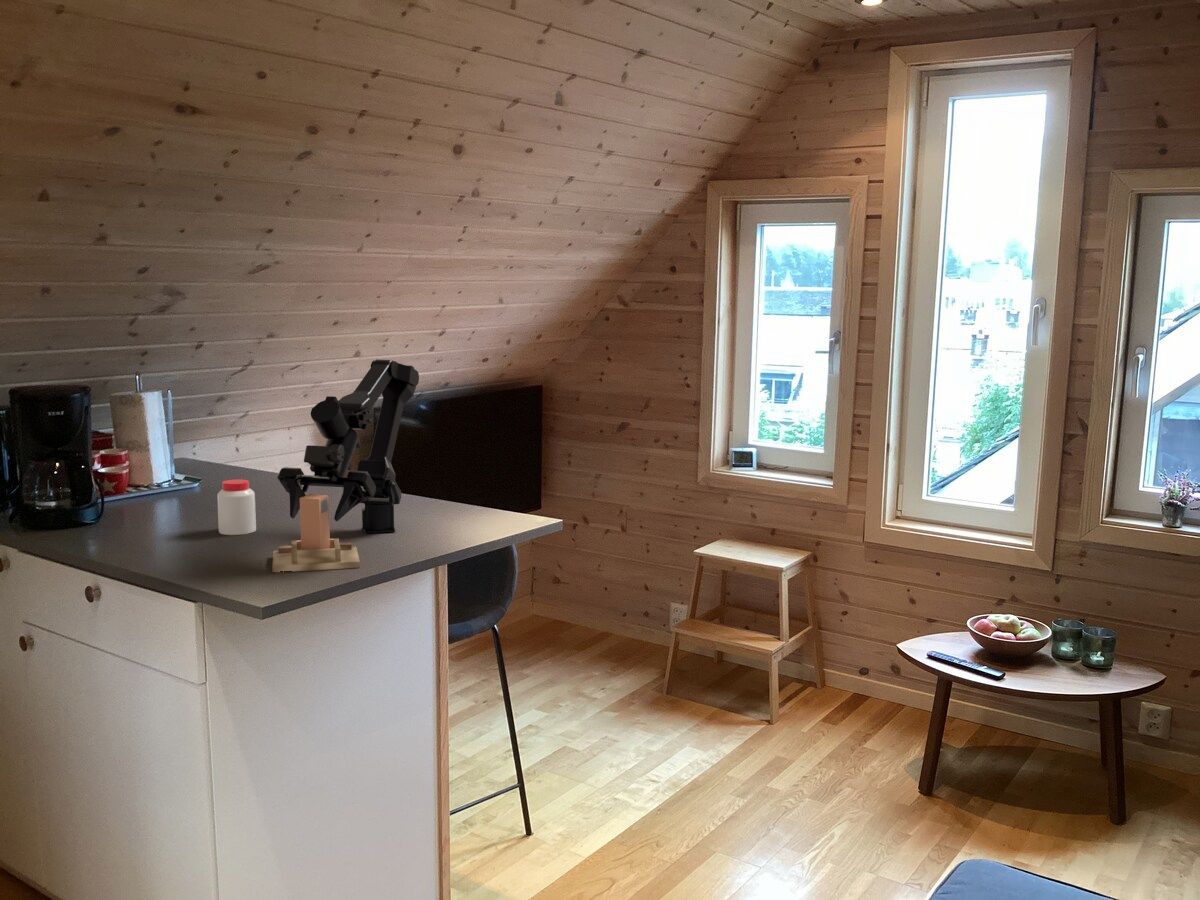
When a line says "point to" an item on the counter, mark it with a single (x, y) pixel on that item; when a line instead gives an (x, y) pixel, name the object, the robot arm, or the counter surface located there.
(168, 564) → the counter surface
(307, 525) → the block
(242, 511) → the pill bottle
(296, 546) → the jig
